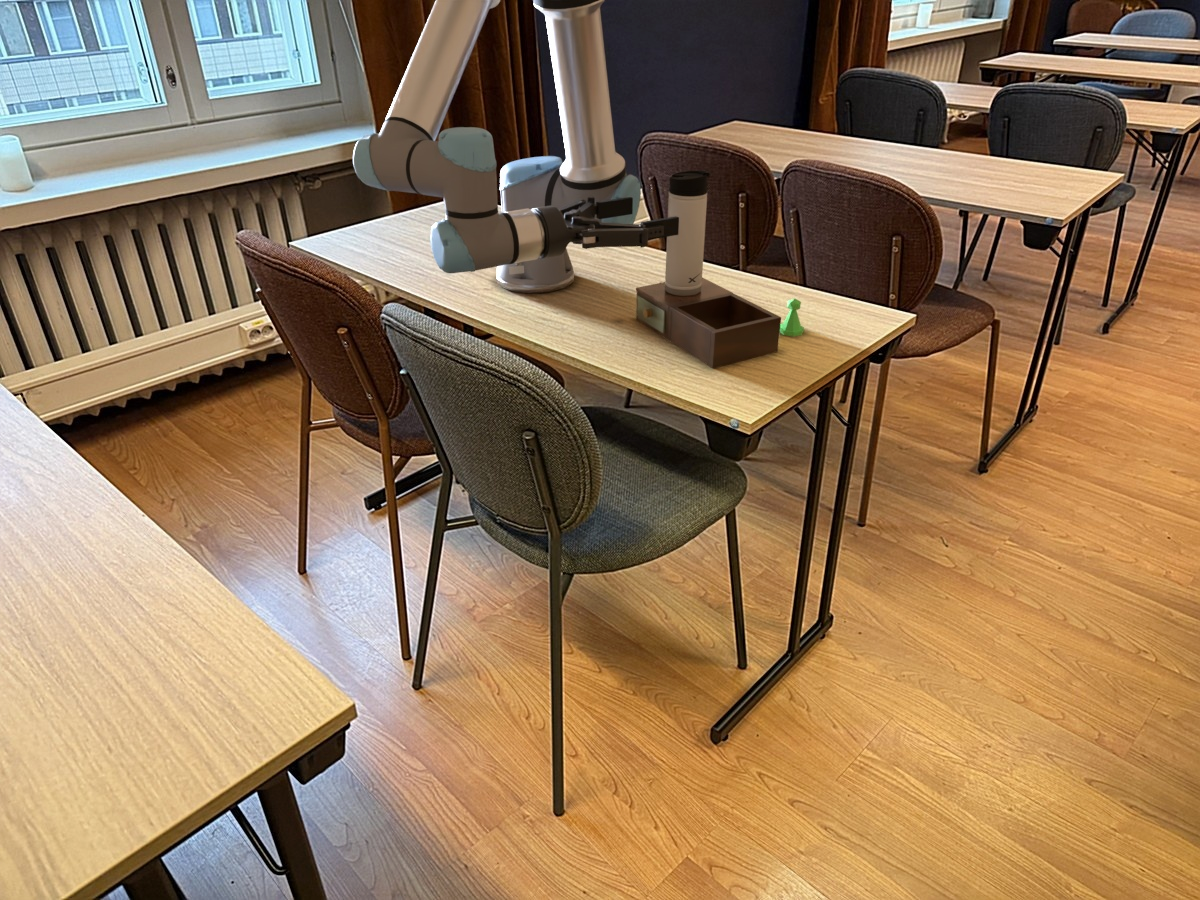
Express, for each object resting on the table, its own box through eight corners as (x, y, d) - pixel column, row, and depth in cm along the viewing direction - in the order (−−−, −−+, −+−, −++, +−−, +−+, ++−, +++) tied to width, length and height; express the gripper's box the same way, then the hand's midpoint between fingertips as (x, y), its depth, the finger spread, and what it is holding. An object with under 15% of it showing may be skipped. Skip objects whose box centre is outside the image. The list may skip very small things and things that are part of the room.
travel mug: (701, 297, 143) (709, 176, 133) (662, 295, 144) (667, 174, 134) (704, 285, 149) (712, 167, 138) (667, 282, 150) (672, 165, 140)
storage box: (629, 321, 150) (629, 288, 147) (696, 306, 156) (698, 275, 153) (705, 370, 133) (708, 334, 130) (777, 351, 139) (781, 317, 136)
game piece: (808, 331, 146) (813, 298, 143) (794, 338, 144) (798, 304, 141) (787, 324, 149) (791, 292, 146) (773, 331, 146) (776, 298, 143)
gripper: (502, 237, 139) (613, 219, 148) (574, 282, 120) (697, 259, 129) (499, 190, 135) (614, 175, 144) (573, 230, 117) (700, 209, 126)
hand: (653, 215), depth 137 cm, fingers open, 13 cm apart
